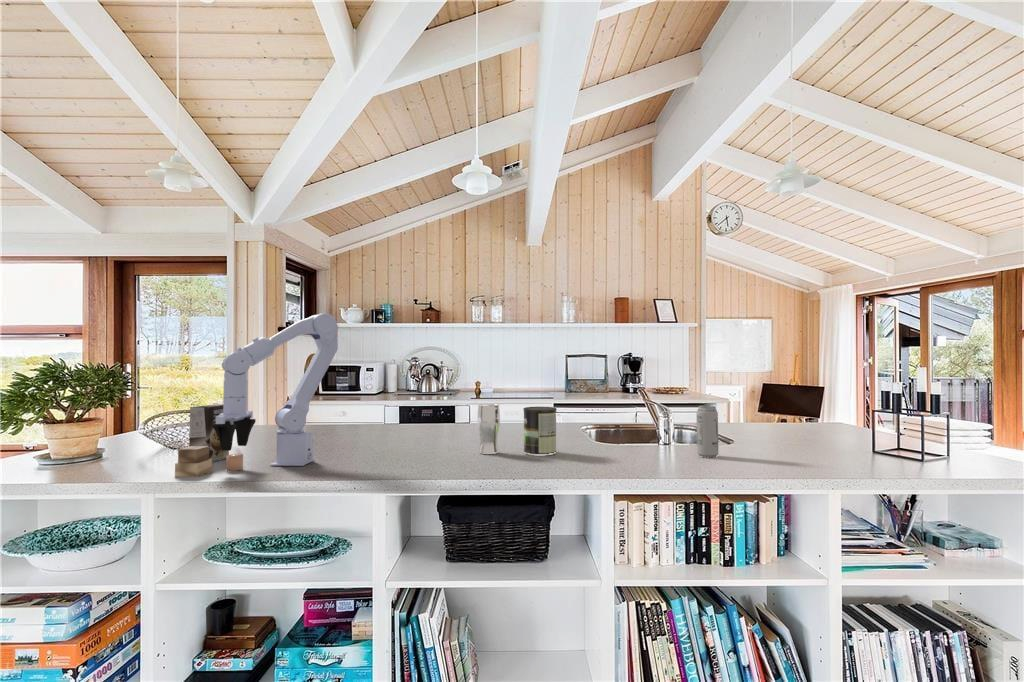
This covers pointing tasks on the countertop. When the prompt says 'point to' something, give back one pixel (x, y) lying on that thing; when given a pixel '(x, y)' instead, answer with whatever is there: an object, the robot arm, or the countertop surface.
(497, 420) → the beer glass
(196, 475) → the oak slab
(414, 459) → the countertop surface
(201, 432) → the coffee box
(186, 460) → the walnut slab
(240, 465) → the light brown wooden cube
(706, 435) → the energy drink can
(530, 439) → the coffee can
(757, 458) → the countertop surface
